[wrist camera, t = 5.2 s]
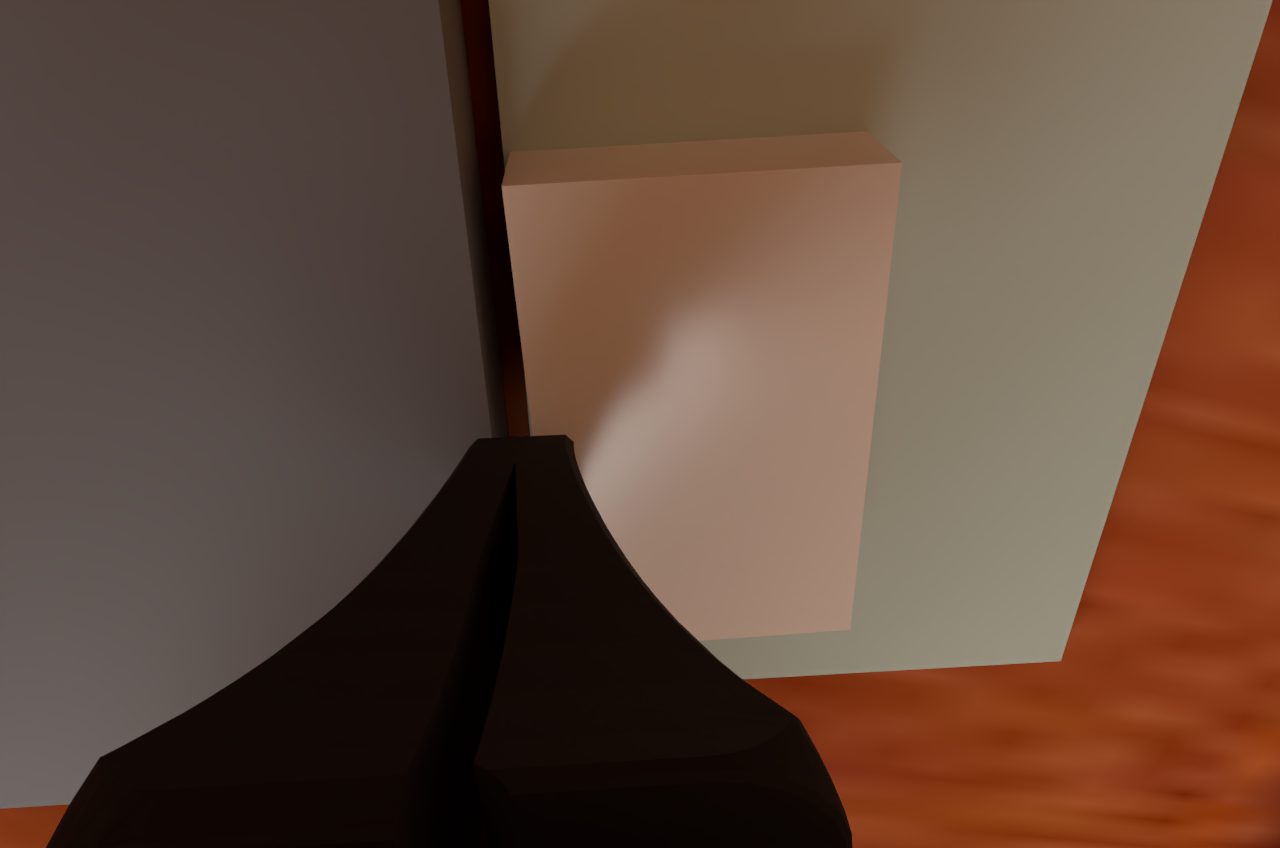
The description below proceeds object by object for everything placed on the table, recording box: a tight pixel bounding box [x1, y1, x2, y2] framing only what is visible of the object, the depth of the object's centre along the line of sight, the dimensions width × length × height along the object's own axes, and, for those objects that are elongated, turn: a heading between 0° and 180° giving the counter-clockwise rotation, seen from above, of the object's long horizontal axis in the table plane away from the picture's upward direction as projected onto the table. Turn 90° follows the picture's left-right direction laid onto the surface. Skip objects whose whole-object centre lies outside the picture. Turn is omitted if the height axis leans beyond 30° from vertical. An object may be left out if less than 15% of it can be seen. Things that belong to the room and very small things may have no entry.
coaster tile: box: [502, 131, 902, 641], centre depth 14 cm, size 8×5×2 cm, turn 2°
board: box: [0, 0, 509, 809], centre depth 14 cm, size 14×10×2 cm
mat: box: [489, 0, 1273, 679], centre depth 15 cm, size 13×10×1 cm
